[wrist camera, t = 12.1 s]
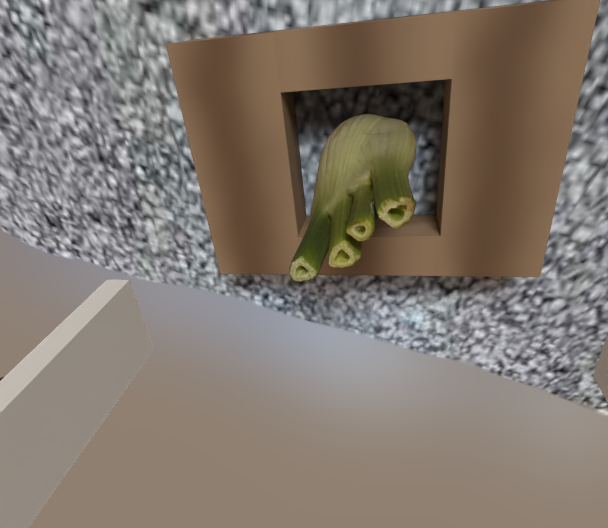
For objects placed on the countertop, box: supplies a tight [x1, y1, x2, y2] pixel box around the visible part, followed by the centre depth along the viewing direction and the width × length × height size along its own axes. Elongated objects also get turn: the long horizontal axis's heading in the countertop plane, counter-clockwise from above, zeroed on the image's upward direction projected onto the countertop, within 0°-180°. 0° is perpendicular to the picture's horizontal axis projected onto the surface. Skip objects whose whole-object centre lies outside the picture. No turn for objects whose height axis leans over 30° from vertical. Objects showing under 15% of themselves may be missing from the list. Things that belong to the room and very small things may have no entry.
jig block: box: [166, 0, 600, 277], centre depth 25 cm, size 20×14×3 cm
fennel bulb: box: [289, 114, 416, 282], centre depth 21 cm, size 6×5×12 cm
